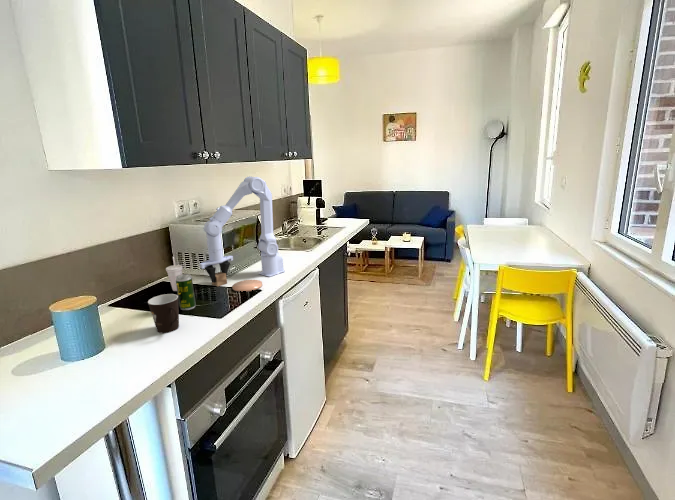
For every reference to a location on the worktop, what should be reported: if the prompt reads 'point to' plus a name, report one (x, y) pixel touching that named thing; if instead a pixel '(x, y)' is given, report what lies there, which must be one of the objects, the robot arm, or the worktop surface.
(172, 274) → the smoothie
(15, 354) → the worktop surface
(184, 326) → the worktop surface
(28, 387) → the worktop surface
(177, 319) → the coffee mug
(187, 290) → the beer can
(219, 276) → the walnut block
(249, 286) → the terracotta dish
